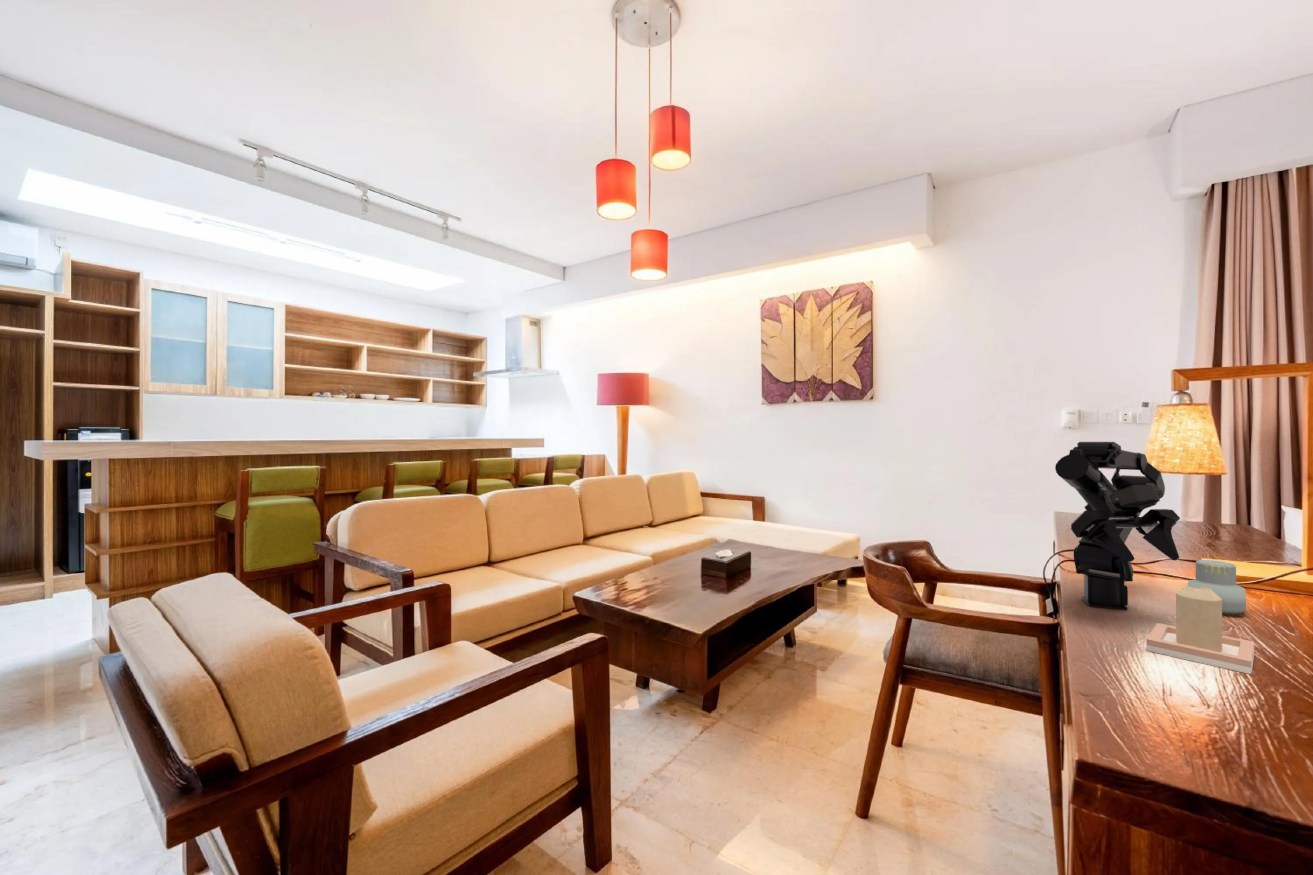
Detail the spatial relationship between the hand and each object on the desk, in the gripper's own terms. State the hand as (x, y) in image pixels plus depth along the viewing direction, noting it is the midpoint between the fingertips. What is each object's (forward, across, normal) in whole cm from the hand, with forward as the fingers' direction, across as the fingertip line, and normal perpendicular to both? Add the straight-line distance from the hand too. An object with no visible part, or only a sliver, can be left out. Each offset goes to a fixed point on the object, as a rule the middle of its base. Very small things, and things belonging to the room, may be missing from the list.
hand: (1154, 559), depth 100 cm
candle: (+15, -2, +3) cm, 16 cm away
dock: (+16, -2, +3) cm, 17 cm away
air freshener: (+3, +26, +17) cm, 31 cm away
